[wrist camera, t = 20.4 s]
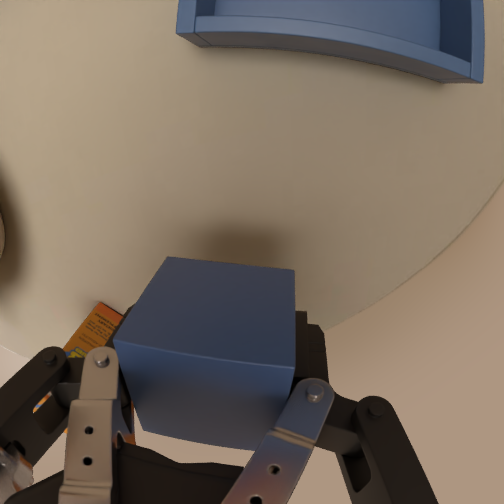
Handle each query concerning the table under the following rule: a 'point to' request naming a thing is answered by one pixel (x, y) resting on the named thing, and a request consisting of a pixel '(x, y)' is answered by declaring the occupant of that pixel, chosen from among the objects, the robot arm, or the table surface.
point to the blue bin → (350, 31)
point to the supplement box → (90, 335)
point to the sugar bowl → (1, 236)
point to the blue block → (210, 351)
